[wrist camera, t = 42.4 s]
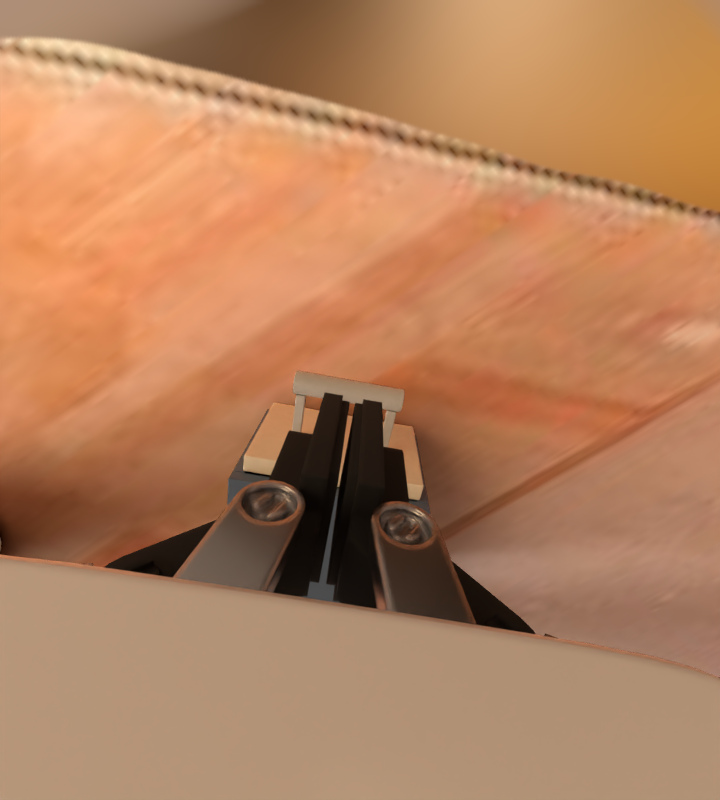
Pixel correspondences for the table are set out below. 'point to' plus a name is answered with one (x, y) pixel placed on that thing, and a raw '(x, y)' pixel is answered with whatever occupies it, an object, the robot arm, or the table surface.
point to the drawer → (304, 419)
